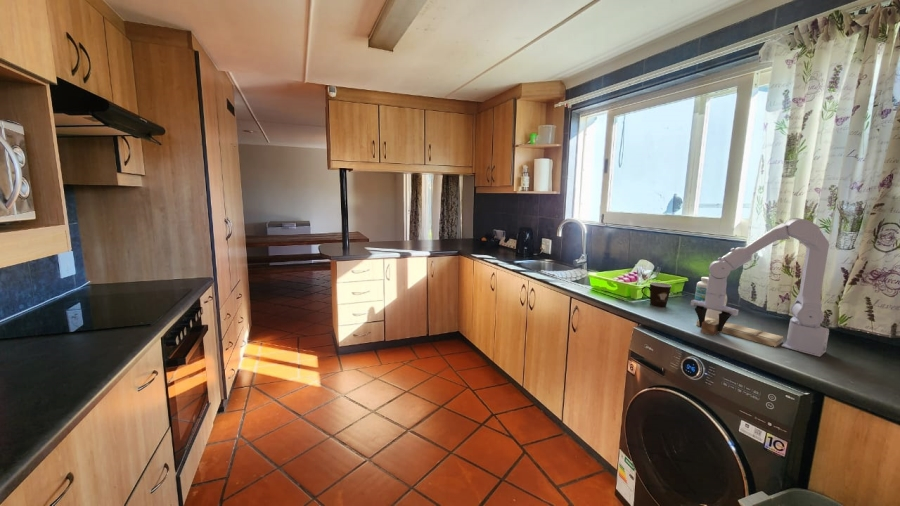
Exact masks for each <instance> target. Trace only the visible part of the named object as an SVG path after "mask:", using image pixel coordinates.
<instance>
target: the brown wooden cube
mask: <svg viewBox="0 0 900 506" xmlns="http://www.w3.org/2000/svg"><path fill="white" fill-rule="evenodd" d="M718 324H719V322H715V321H711V320H706V321H704V322H702V327H701V328H700V332H701V333H702V334H706V335H711V336H714V335H717V334H719V333H720V332H718Z"/></svg>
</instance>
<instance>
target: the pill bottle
mask: <svg viewBox="0 0 900 506" xmlns="http://www.w3.org/2000/svg"><path fill="white" fill-rule="evenodd" d="M708 277H709V276H701V278H700V280H701V281H698V282H696V287H695V294H694V300H697V301H704V302H705V297H706V289H707V282H708V279H709V278H708Z"/></svg>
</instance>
